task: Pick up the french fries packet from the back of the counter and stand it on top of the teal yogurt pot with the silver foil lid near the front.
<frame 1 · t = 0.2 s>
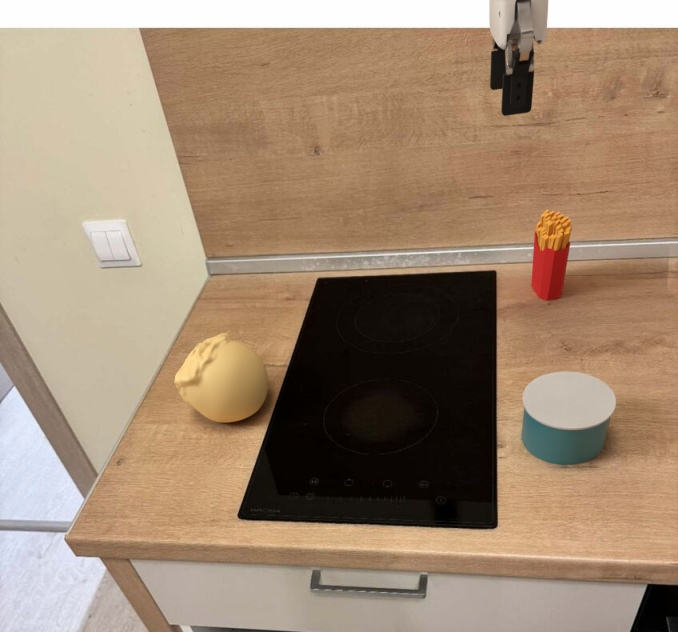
hand: (509, 100, 72), 31 cm above the worktop, tool pointing down, fingers open, 9 cm apart
french fries: (546, 291, 100), on the worktop
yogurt: (560, 445, 76), on the worktop
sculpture: (234, 407, 91), on the worktop
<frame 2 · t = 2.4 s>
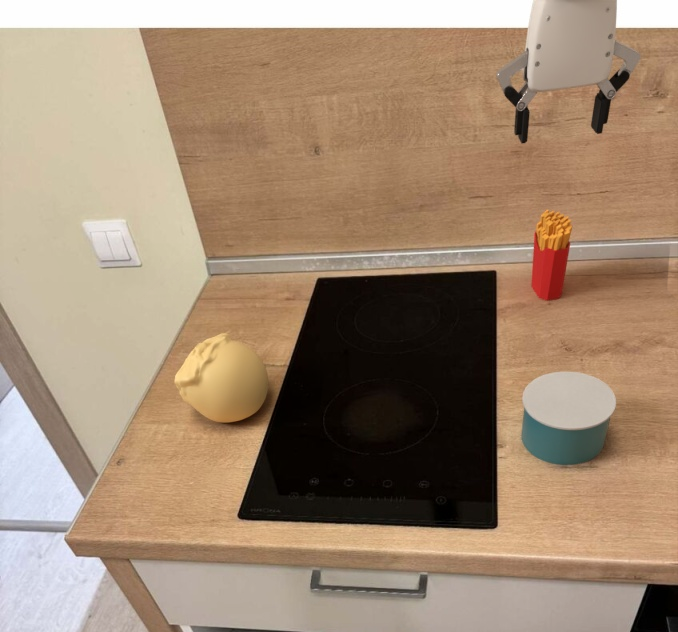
hand: (559, 135, 83), 24 cm above the worktop, tool pointing down, fingers open, 9 cm apart
nothing on the worktop moved.
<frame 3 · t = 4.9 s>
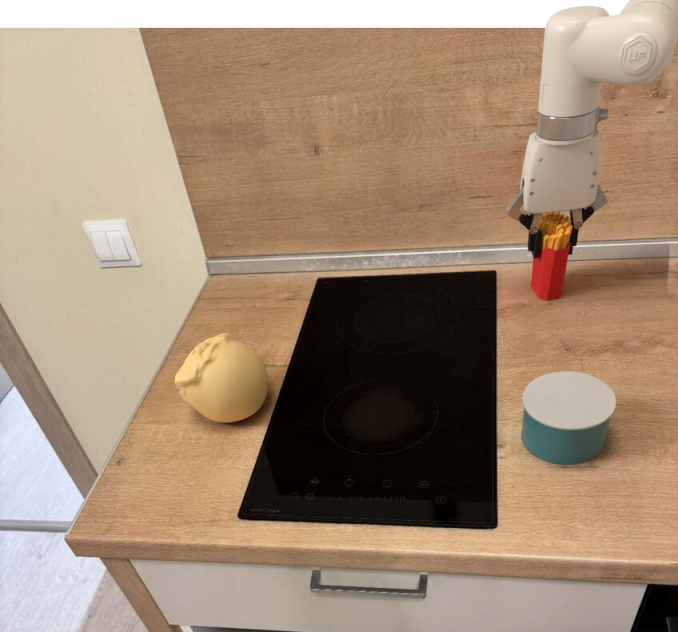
hand: (551, 251, 95), 7 cm above the worktop, tool pointing down, fingers closed on french fries, 4 cm apart
french fries: (546, 291, 100), on the worktop, touching gripper
everything else where it was.
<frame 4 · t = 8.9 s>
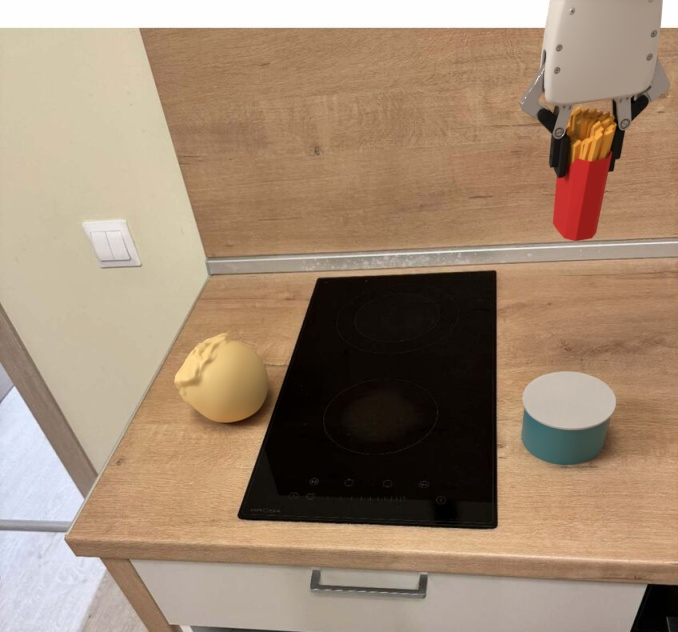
hand: (582, 168, 67), 27 cm above the worktop, tool pointing down, fingers closed on french fries, 4 cm apart
french fries: (574, 230, 72), point 20 cm above the worktop, touching gripper
everything else where it was.
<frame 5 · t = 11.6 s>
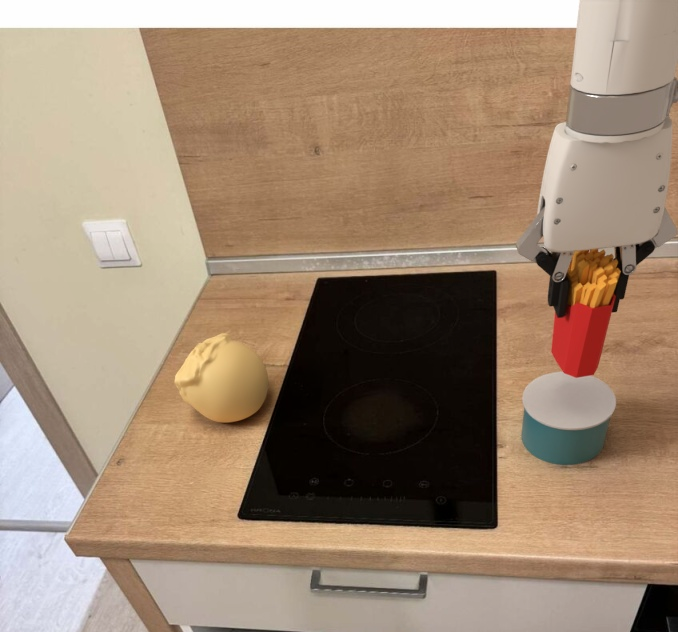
hand: (583, 306, 62), 20 cm above the worktop, tool pointing down, fingers closed on french fries, 4 cm apart
french fries: (574, 362, 67), point 13 cm above the worktop, touching gripper
everything else where it was.
when the fingers open (14 cm above the worktop, at t = 13.3 s): french fries stays where it is, resting on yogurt.
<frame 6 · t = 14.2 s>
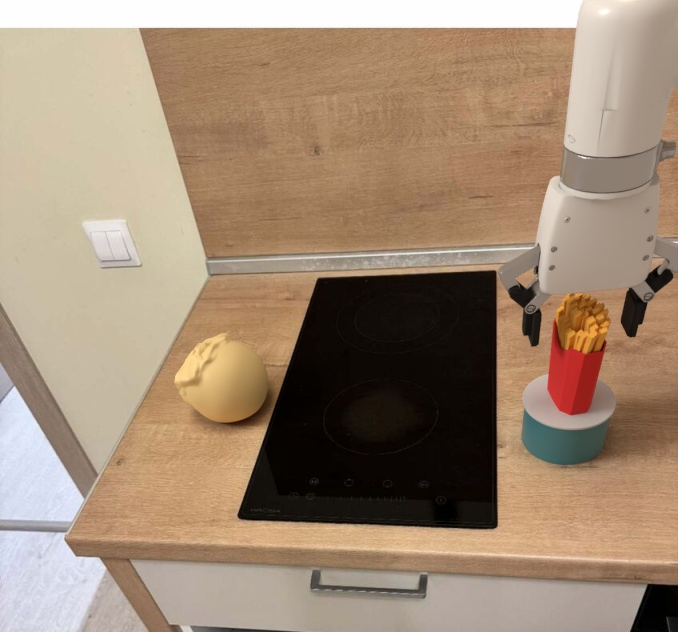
hand: (579, 334, 65), 16 cm above the worktop, tool pointing down, fingers open, 9 cm apart
french fries: (569, 399, 71), point 7 cm above the worktop, touching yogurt
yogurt: (560, 445, 76), on the worktop, touching french fries
everything else where it was.
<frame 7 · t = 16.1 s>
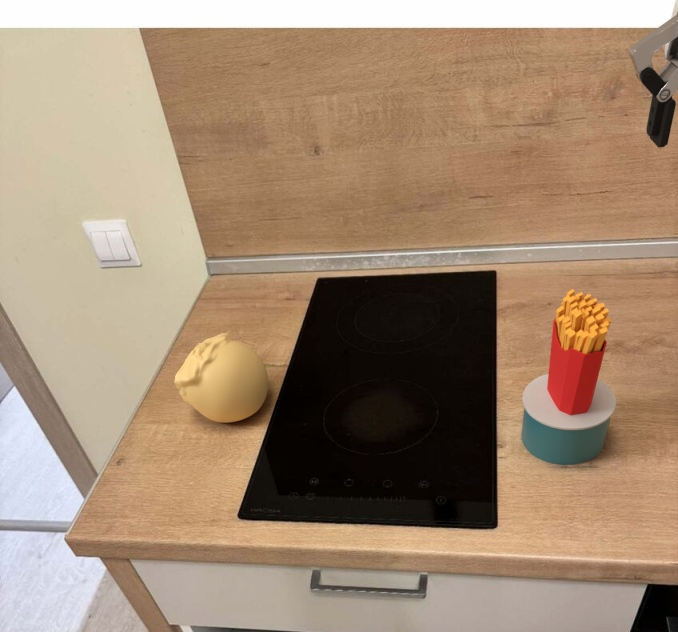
nothing on the worktop moved.
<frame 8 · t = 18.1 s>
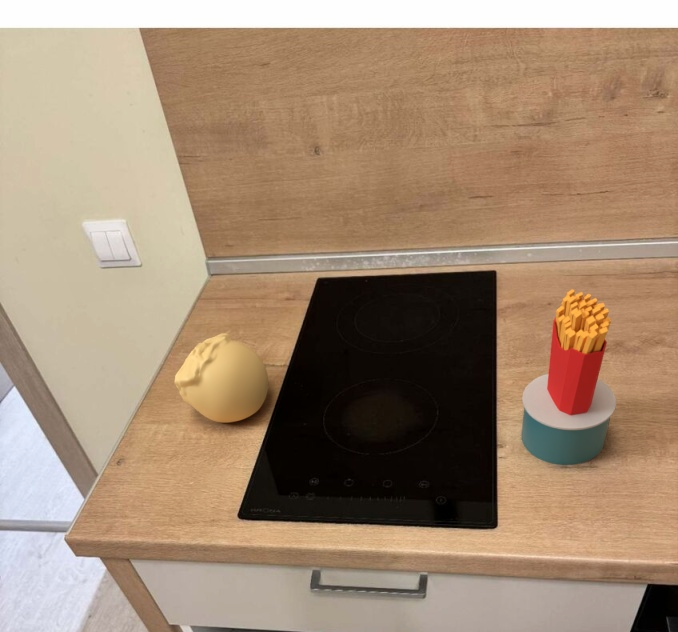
nothing on the worktop moved.
at the end: french fries 0.1 cm off-centre on the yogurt, point 7.3 cm above the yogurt's base; french fries tilted 0°; the gripper is holding nothing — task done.
